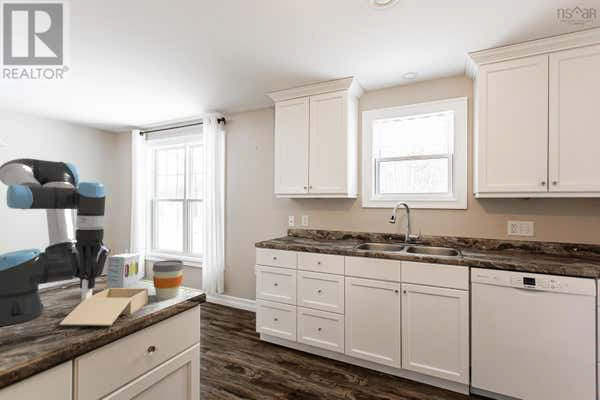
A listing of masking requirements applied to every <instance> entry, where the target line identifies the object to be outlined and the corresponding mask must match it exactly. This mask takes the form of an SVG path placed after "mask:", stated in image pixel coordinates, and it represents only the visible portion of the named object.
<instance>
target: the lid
mask: <svg viewBox="0 0 600 400" xmlns="http://www.w3.org/2000/svg"><path fill="white" fill-rule="evenodd" d="M130 301H131V298H88V299H86V300H81V302H80V303H79V304H78V305H77V306H76V307H75V308H74V309H73V310H72V311H71V312H70V313H69V314H68V315H66V317H65V318H64V319H62V321H61V322H59V325H60V326H112V324H113V323H114V322H115V321H116V320H117V319H118V317H119V316H120V315H119V314H120V313H121V312H122V311H123V309H124V308H125V307H126V306H127V304H128V303H129V302H130Z"/></svg>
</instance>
